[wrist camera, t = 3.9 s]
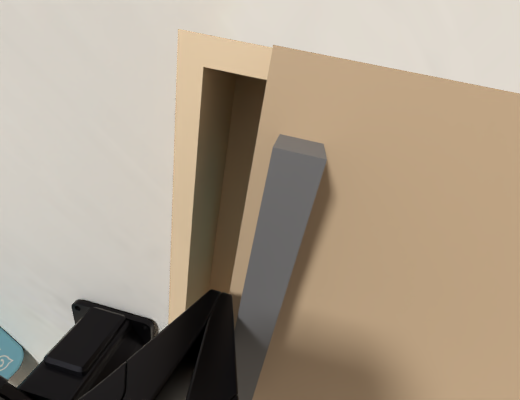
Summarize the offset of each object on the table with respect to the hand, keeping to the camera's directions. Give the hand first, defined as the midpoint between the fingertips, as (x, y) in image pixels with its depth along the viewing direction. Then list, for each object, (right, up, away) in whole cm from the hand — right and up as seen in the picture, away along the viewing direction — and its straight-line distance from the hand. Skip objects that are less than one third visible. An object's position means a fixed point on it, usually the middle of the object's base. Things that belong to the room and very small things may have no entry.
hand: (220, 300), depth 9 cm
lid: (+7, -1, +1) cm, 7 cm away
